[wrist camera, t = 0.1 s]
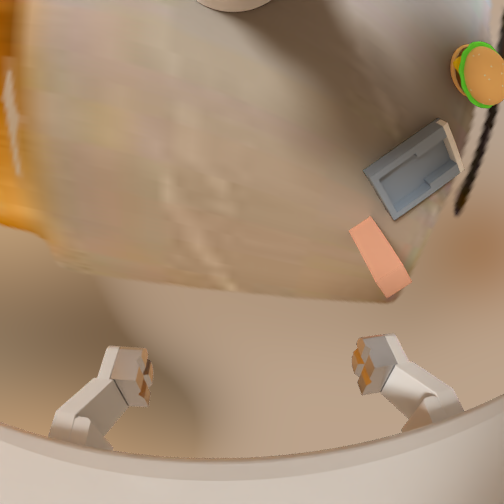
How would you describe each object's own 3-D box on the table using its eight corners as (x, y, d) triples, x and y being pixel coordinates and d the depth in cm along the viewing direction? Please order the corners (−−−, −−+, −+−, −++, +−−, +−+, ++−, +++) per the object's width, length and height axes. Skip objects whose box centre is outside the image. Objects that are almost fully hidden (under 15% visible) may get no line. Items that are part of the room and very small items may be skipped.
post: (360, 247, 58) (386, 298, 47) (348, 230, 56) (375, 282, 45) (381, 233, 57) (412, 282, 45) (370, 216, 54) (402, 264, 43)
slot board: (387, 211, 54) (394, 220, 51) (362, 170, 49) (369, 178, 46) (455, 163, 48) (464, 169, 45) (438, 117, 43) (447, 122, 40)
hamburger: (472, 29, 32) (505, 34, 25) (496, 84, 37) (527, 96, 31) (432, 55, 36) (465, 62, 29) (460, 112, 42) (491, 128, 35)
